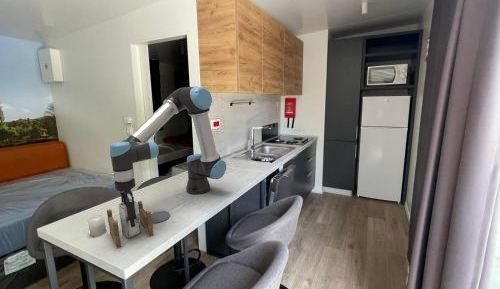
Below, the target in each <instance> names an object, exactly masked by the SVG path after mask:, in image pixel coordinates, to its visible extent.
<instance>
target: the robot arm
mask: <svg viewBox="0 0 500 289" xmlns="http://www.w3.org/2000/svg"><path fill="white" fill-rule="evenodd" d="M212 103H213V96H212V94H211V92H210V90H209V89H207V88H206V87H203V86H198V85H197V86H184V87H180V88H178V89H176V90H174V91H173V92H172V93H170V94H169V95H168V96H167V97H166V98H165V99H164V100H163V104H162V105H161V106H160V107H159V108H158V109H157V110H155V112H153V113H152V114H151V115H150V116H149V117H148V118H147V119H146V120H144V122H143V123H142V124H141V125H140V126H139V127H138V128H136V130H135V131H134V132H132V133H131V134H130V135H129V136H128V138H126V139H122V140H120V141H118V142H113V143H111V144H110V145H109V154H110V155H109V156H110V161H111V166H112V172H113V173H111V176H112V177H113V179H114V180H113V181H114V188H115V190H116V191H117V192H120V200H121V203H122V202H124V204H125V205H126V207H127V214H128V219H127V221H128V225H129V232H130V234H133V233H136V232H137V228H136V220H135V219H136V218H137V217H136V212H135V205H134V201H135V197H134V195H133V192H132V189H134V188H135V187H136V179H135V170H134V164H135V163H139V162H144V161H148V160H152V159H155V158H157V157H158V156H159V152H160V150H159V149H160V148H159V147H158V145H157V143H156V142H154V141H149V140H150V139H152V137H154V135H156V134H157V132H158V131H159V130H160V129H161V128H162V127H163V126H164V125H165V124H166V123H167V122H168V121H169V120H170V119H171V118H172V117H173V116H174V115H177V114H178V113H180V112H181V111H183V110H187V114H188V116H190V117H192V121H193V122H192V123H193V126H194V129H195V134H196V138H197V142H198V145H199V146H198V147H199V149H200V153H197V154H196V153H195V154H192V155H191V154H190V155H188V156H187V158H186V168H187V183H186V186H185V190H186V193H187V194H189V195H202V194H206V193H208V192H209V191H210V190H211V184H210V181H209V180H208V178H209V179H211V180H220V179H222V178H223V177H224V175H225V173H226V171H227V163H226V161H225V160H223V159H222V158H221V154H220V153H219V152H217V149H216V145H215V144H216V143H215V139H214V135H213V131H212V125H211V122H210V118H209V113H210V110H211V106H212Z"/></svg>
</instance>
